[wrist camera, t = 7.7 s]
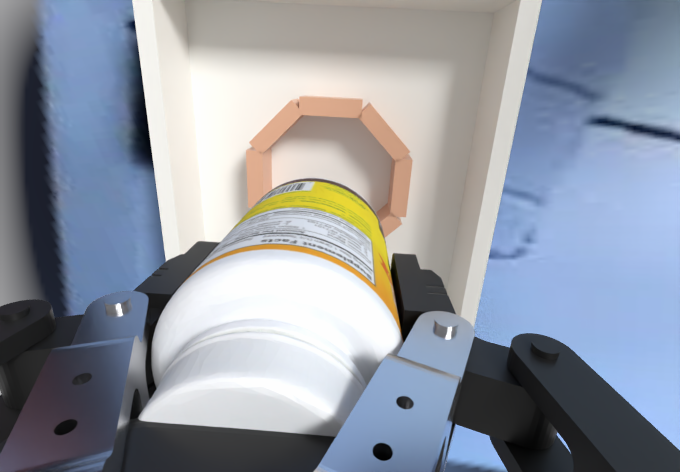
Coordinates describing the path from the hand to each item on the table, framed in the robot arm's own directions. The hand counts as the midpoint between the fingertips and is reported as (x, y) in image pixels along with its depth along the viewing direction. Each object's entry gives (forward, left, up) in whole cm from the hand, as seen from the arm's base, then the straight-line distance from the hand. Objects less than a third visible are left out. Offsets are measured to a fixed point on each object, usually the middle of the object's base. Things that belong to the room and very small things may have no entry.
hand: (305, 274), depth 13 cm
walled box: (0, 0, -15) cm, 15 cm away
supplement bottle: (0, 0, -3) cm, 3 cm away
